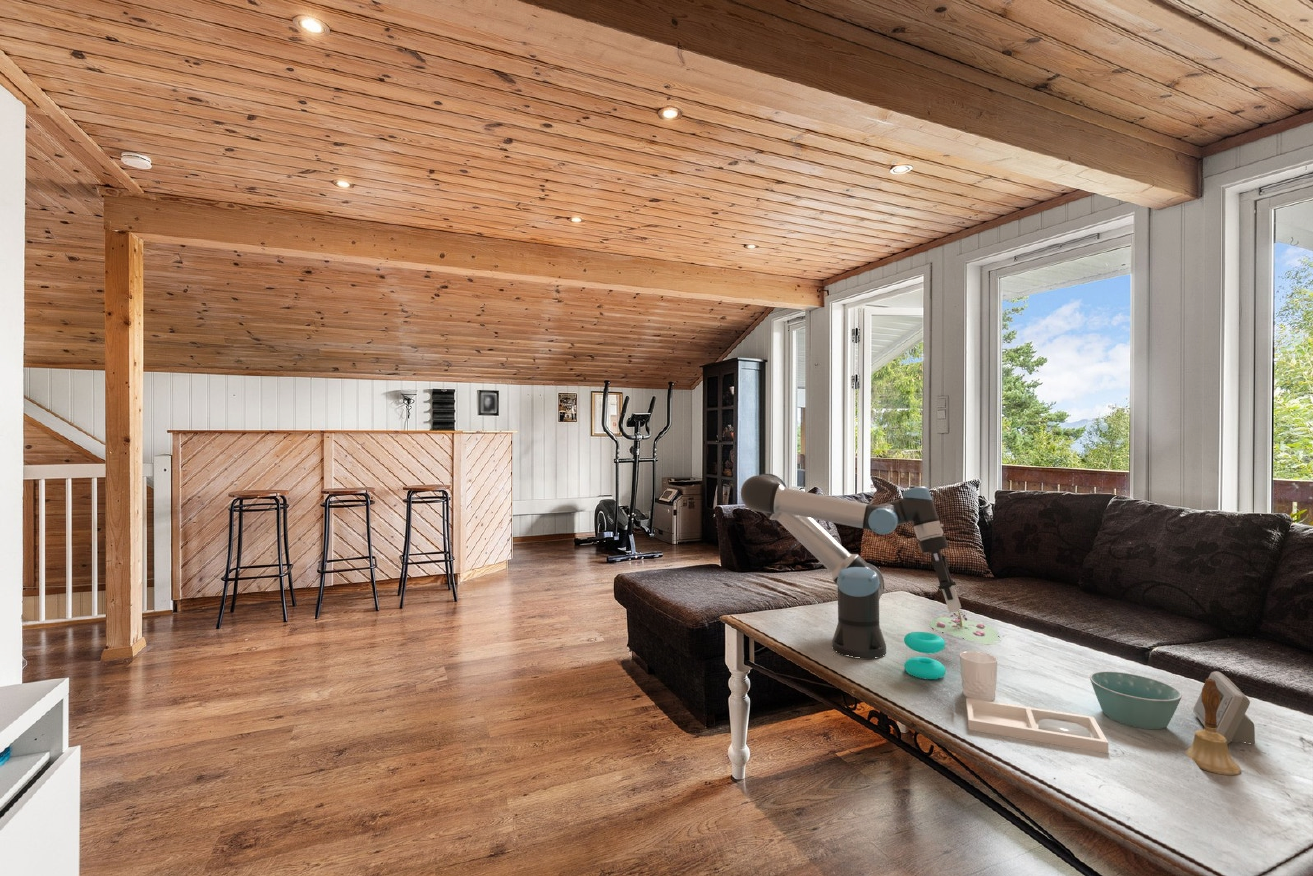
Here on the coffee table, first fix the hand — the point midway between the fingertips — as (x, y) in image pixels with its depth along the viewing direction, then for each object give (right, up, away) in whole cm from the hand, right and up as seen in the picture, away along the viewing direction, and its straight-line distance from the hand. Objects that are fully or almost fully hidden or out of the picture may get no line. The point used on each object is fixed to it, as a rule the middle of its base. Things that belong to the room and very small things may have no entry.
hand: (955, 610), depth 174 cm
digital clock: (+32, -12, -48) cm, 59 cm away
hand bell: (+19, -12, -60) cm, 64 cm away
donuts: (-15, -13, -15) cm, 25 cm away
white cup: (-10, -13, -31) cm, 34 cm away
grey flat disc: (-2, -11, -50) cm, 51 cm away
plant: (+14, -14, +21) cm, 29 cm away
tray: (-8, -12, -47) cm, 50 cm away
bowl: (+18, -12, -43) cm, 48 cm away
